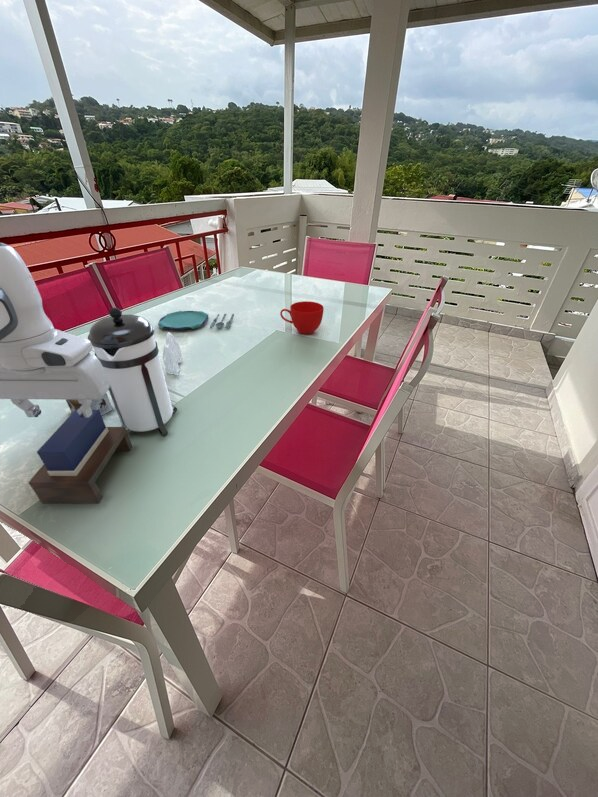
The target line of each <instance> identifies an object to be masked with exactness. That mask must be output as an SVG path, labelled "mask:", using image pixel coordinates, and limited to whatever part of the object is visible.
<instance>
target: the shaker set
mask: <svg viewBox="0 0 598 797" xmlns="http://www.w3.org/2000/svg"><path fill="white" fill-rule="evenodd" d="M165 337H166V338H165V345H164V346H163V349H162V360H163V364H164V367H165V370H166V373H167V374H168V375H175V377H176V376H180V374H179V373H180V370H181V369H180V366H179V363H182V361H183V355H182V352H181V348H180V345H179V342H178V341H177V339H176V338H175V337H174V335H173V334H172V333H171V332H167V333H166V336H165Z"/></svg>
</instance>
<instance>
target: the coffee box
mask: <svg viewBox="0 0 598 797" xmlns="http://www.w3.org/2000/svg"><path fill="white" fill-rule="evenodd" d="M65 402H66V404H67V406H68V408H69V410H70V412H72V413H73V412H74V411H75V410H78V409H79V408H80V407H81V406H82V405H83V403H82V404H80V403H79V402H78V400H65ZM90 407H91V410H99V412H100V414H101V416H102V417H103V415H105V414H107V413H109V412H111V411H112V410H113V406H112V403H111V401H110V398H109V396H108V393H107V392H106V394H105V395H104V396H103V397H102V398H101V399H99V400H92V402H91V405H90Z"/></svg>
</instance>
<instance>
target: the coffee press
mask: <svg viewBox="0 0 598 797" xmlns="http://www.w3.org/2000/svg"><path fill="white" fill-rule="evenodd" d="M108 315H109V316H108V317H105V318H102V319H100V320H98V321H96V322H95V323H93V325H92V326H91V327H90V329H89V333H88V334H87V339H88V340H90V342H91V344H92V347H93V348H92V349H93V351H94V355H95V356H96V357H97V358H98V359H99V361H100V362H101V364H102V366H103V368H104V370H105V373H106V375H107V378H108V380H109V384H110V387H109V389H108V392H109V395H110V398H111V400H112V403H113V405H114V408H115V411H116V414H117V416H118V418H119V421H120V424H121V426H120V427H126V430H127V433H128V435H129V434H130V432H131V431H132V432H140V433H141V432H150V431H153V430H157V431H158V432H159V434H160V436H161V437H164V436H165V435H167V434H168V433H169V431H168V429H167V428H166V426H165V424H167V423H168V422H169V421H170V420H171V418H172V416H173V414H174V413H176V412H177V411H178V407H176V406H175V405H174V404H172V401H171V396H170V393H169V389H168V385H167V381H166V377H165V374H164V369H163V366H162V361H161V358H160V354H159V351H160V350H159V347H158V346H159V345H158V343H157V341H156V339H155V328H154V325H153V324H151V323H150V322H149V320H147V319H146V318H145V317H143V316H139V315H136V314H123V312H122V310H121V309H119V308H118V307H112V308H110V309H109V314H108Z"/></svg>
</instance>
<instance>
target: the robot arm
mask: <svg viewBox="0 0 598 797" xmlns="http://www.w3.org/2000/svg"><path fill="white" fill-rule="evenodd" d="M93 349H94V348H93V346H92V344H91V342H90V340H88V338H86V337H82V336H78V335H75V334H70V333H68V332H66V331H62V330H60V329H57V328H55V327H54V325H53V322H52V321H51V319H50V318H49V317H48V315H47V313H45V310H44V306H43V298H42V296H41V293H40V291H39V288H38V286H37V284H36V282H35V279H34V277H33V275H32V274H31V272H30V270H29V268H28V266H27V265H26V263H25V261H24V260H23V258H22V257H21V255H20V254H19V253H18V252H17V250H16V249H15V248H13V247H12V246H11V245H9V244H7V243H5V242H0V400H10V401H11V403H12V404H13V405H14V406H16V407H17V408H19V409H20V410H22V411H23V412H24V413H25V416H26V417H27V418H38V417H39V416H41V415H42V409H40V406H39V404H34V403H33V402H32V401H30V400H61V401H62V400H63V401H64V400H65V401H66V400H78V402H79V403H80V404H82V403H83V405H82V406H81V407H80V408H79V409H78V410H77V413H78V414H79V417H81V418H89V417H90V416H91V415H92V410H91V407H90V405H91V402H92V400H99V399H101V398H102V397H103V396H104V395H105V394H106V393H107V392H109V390H108V389H109V387H110V384H109V380H108V378H107V375H106V373H105V370H104V368H103V366H102V364H101V362H100V361H99V359H98V358H97V357H96V356H95V354H93V353H92V352H91V351H92V350H93Z"/></svg>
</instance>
